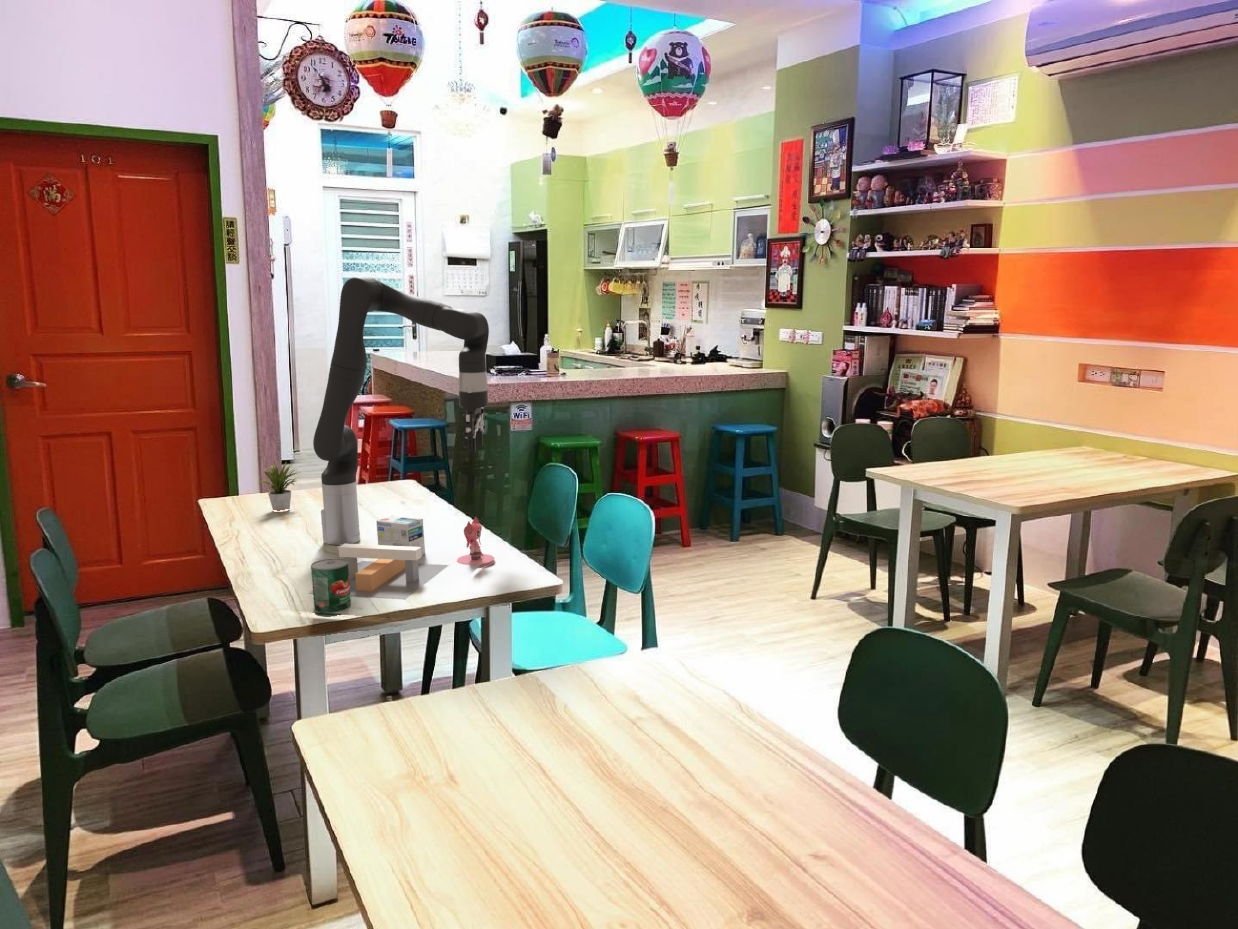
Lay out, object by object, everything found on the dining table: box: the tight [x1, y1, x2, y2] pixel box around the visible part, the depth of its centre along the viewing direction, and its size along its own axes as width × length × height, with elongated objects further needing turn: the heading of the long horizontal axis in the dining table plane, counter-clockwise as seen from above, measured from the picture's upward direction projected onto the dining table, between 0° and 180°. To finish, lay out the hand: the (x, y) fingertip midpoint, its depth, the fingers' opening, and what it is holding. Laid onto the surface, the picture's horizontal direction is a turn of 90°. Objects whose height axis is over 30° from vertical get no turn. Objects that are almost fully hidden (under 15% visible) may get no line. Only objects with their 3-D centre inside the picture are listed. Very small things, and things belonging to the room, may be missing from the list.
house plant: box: [259, 461, 303, 511], centre depth 290 cm, size 14×14×16 cm
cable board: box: [308, 557, 449, 600], centre depth 217 cm, size 24×26×6 cm
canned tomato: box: [310, 557, 352, 618], centre depth 198 cm, size 8×8×11 cm
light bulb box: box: [375, 515, 426, 556], centre depth 237 cm, size 11×7×11 cm, turn 65°
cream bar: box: [338, 543, 423, 561], centre depth 217 cm, size 20×3×2 cm, turn 79°
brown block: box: [355, 559, 405, 591], centre depth 217 cm, size 4×18×4 cm, turn 169°
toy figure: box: [456, 516, 495, 569], centre depth 232 cm, size 10×10×12 cm
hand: (475, 449), depth 239 cm, fingers open, 8 cm apart
